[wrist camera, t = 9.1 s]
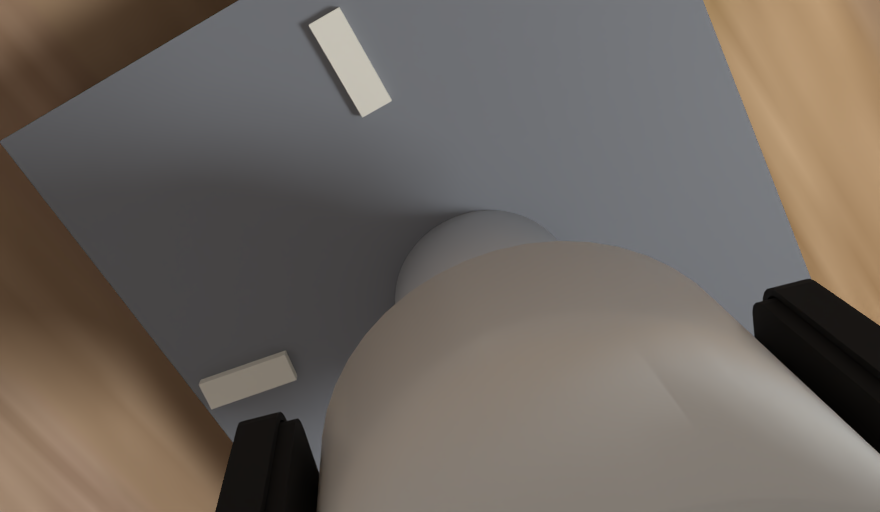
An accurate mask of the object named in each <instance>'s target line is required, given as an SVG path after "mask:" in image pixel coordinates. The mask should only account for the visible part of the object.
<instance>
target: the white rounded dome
mask: <svg viewBox="0 0 880 512" xmlns="http://www.w3.org/2000/svg"><path fill="white" fill-rule="evenodd" d="M316 512H880V454H879V453H878V452H877V451H876V450H875V449H874V448H873V447H872V446H871V445H870V444H869V443H867V442H866V441H865V440H864V439H863V438H862V437H861V436H860V435H859V434H858V433H857V432H856V431H855V430H853V429H852V428H851V427H850V426H849V425H848V424H847V423H846V422H845V421H844V420H843V419H842V418H841V417H840V416H838V415H837V414H836V413H835V412H834V411H833V410H832V409H831V408H830V407H829V406H828V405H827V404H826V403H825V402H823V401H822V400H821V399H820V398H819V397H818V396H817V395H816V394H815V393H814V392H813V391H812V390H811V389H810V388H808V387H807V386H806V385H805V384H804V383H803V382H802V381H801V380H800V379H799V378H798V377H797V376H796V375H794V374H793V373H792V372H791V371H790V370H789V369H788V368H787V367H786V366H785V365H784V364H783V363H782V362H781V361H779V360H778V359H777V358H776V357H775V356H774V355H773V354H772V353H771V352H770V351H769V350H768V349H767V348H766V347H764V346H763V345H762V344H761V343H760V342H759V341H758V340H757V339H756V338H755V337H754V336H753V335H752V334H751V333H749V332H748V331H747V330H746V329H745V328H744V327H743V326H742V325H741V324H740V323H739V322H738V321H737V320H735V319H734V318H733V317H732V316H731V315H730V314H729V313H728V312H727V311H726V310H725V309H724V308H723V307H722V306H720V305H719V304H718V303H717V302H716V301H715V300H714V299H713V298H712V297H711V296H710V295H708V294H707V293H706V292H705V291H704V290H703V289H702V288H701V287H700V286H699V285H697V284H696V283H695V282H693V281H692V280H690V279H689V278H687V277H686V276H684V275H683V274H681V273H680V272H678V271H677V270H675V269H674V268H672V267H670V266H668V265H666V264H664V263H661V262H659V261H657V260H655V259H653V258H651V257H649V256H646V255H643V254H640V253H637V252H633V251H630V250H627V249H624V248H621V247H616V246H610V245H604V244H598V243H592V242H575V241H551V242H540V243H528V244H522V245H518V246H513V247H509V248H504V249H499V250H495V251H492V252H489V253H486V254H483V255H480V256H477V257H475V258H472V259H469V260H466V261H463V262H461V263H459V264H457V265H455V266H453V267H451V268H449V269H447V270H445V271H443V272H441V273H439V274H437V275H435V276H434V277H432V278H431V279H429V280H427V281H426V282H424V283H423V284H421V285H420V286H418V287H417V288H415V289H414V290H412V291H411V292H409V293H408V294H407V295H406V296H404V297H403V298H402V299H401V300H400V301H398V302H397V303H396V304H395V305H394V306H393V307H391V308H390V309H389V310H388V311H387V312H386V313H385V314H384V315H383V316H382V317H381V318H380V319H379V320H378V321H377V322H376V323H375V325H374V326H373V327H372V328H371V329H370V330H369V331H368V332H367V333H366V334H365V336H364V337H363V339H362V340H361V341H360V343H359V344H358V346H357V347H356V349H355V350H354V352H353V353H352V354H351V356H350V357H349V359H348V361H347V363H346V365H345V367H344V369H343V371H342V373H341V375H340V377H339V378H338V380H337V382H336V384H335V387H334V390H333V393H332V396H331V399H330V402H329V405H328V408H327V412H326V417H325V423H324V429H323V434H322V445H321V458H320V471H319V484H318V497H317V510H316Z"/></svg>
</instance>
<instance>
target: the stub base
mask: <svg viewBox="0 0 880 512" xmlns="http://www.w3.org/2000/svg"><path fill="white" fill-rule="evenodd" d="M0 143H1V145H2V146H3V147H4V148H5V150H6V151H7V152H8V154H9V155H10V156H11V157H12V159H13V160H14V161H15V163H16V164H17V165H18V166H19V168H20V169H21V170H22V172H23V173H24V174H25V175H26V177H27V178H28V179H29V181H30V182H31V183H32V184H33V186H34V187H35V188H36V190H37V191H38V192H39V193H40V195H41V196H42V197H43V199H44V200H45V201H46V202H47V204H48V205H49V206H50V208H51V209H52V210H53V211H54V213H55V214H56V215H57V217H58V218H59V219H60V220H61V222H62V223H63V224H64V226H65V227H66V228H67V229H68V231H69V232H70V233H71V235H72V236H73V237H74V238H75V240H76V241H77V242H78V244H79V245H80V246H81V247H82V249H83V250H84V251H85V253H86V254H87V255H88V256H89V258H90V259H91V260H92V262H93V263H94V264H95V265H96V267H97V268H98V269H99V271H100V272H101V273H102V274H103V276H104V277H105V278H106V280H107V281H108V282H109V284H110V285H111V286H112V287H113V289H114V290H115V291H116V293H117V294H118V295H119V296H120V298H121V299H122V300H123V302H124V303H125V304H126V305H127V307H128V308H129V309H130V311H131V312H132V313H133V314H134V316H135V317H136V318H137V320H138V321H139V322H140V323H141V325H142V326H143V327H144V329H145V330H146V331H147V332H148V334H149V335H150V336H151V338H152V339H153V340H154V341H155V343H156V344H157V345H158V347H159V348H160V349H161V350H162V352H163V353H164V354H165V356H166V357H167V358H168V359H169V361H170V362H171V363H172V365H173V366H174V367H175V368H176V370H177V371H178V372H179V374H180V375H181V376H182V377H183V379H184V380H185V381H186V383H187V384H188V385H189V386H190V388H191V389H192V390H193V392H194V393H195V394H196V395H197V397H198V398H199V399H200V401H201V402H202V403H203V404H204V406H205V407H206V408H207V410H208V411H209V412H210V413H211V415H212V416H213V417H214V419H215V420H216V421H217V422H218V424H219V425H220V426H221V428H222V429H223V430H224V432H225V433H226V434H227V435H228V437H229V438H230V439H231V441H232V442H233V441H234V437H235V433H236V429H237V426H238V424H239V422H241V421H245V420H249V419H253V418H257V417H261V416H265V415H269V414H273V413H277V412H282V413H283V414H284V416H285V418H286V420H287V421H289V420H293V419H297V418H298V419H299V420H300V421H301V423H302V425H303V428H304V430H305V433H306V436H307V439H308V442H309V445H310V448H311V451H312V454H313V457H314V460H315V462H316V465H317V468H318V471H320V458H321V445H322V434H323V429H324V423H325V417H326V412H327V408H328V405H329V402H330V399H331V396H332V393H333V390H334V387H335V384H336V382H337V380H338V378H339V377H340V375H341V373H342V371H343V369H344V367H345V365H346V363H347V361H348V359H349V357H350V356H351V354H352V353H353V352H354V350H355V349H356V347H357V346H358V344H359V343H360V341H361V340H362V339H363V337H364V336H365V334H366V333H367V332H368V331H369V330H370V329H371V328H372V327H373V326H374V325H375V323H376V322H377V321H378V320H379V319H380V318H381V317H382V316H383V315H384V314H385V313H386V312H387V311H388V310H389V309H390V308H391V307H393V306H394V305H395V304H396V303H397V302H398V301H400V300H401V299H402V298H403V297H404V296H406V295H407V294H408V293H409V292H411V291H412V290H414V289H415V288H417V287H418V286H420V285H421V284H423V283H424V282H426V281H427V280H429V279H431V278H432V277H434V276H435V275H437V274H439V273H441V272H443V271H445V270H447V269H449V268H451V267H453V266H455V265H457V264H459V263H461V262H463V261H466V260H469V259H472V258H475V257H477V256H480V255H483V254H486V253H489V252H492V251H495V250H499V249H504V248H509V247H513V246H518V245H522V244H528V243H540V242H551V241H575V242H592V243H598V244H604V245H610V246H616V247H621V248H624V249H627V250H630V251H633V252H637V253H640V254H643V255H646V256H649V257H651V258H653V259H655V260H657V261H659V262H661V263H664V264H666V265H668V266H670V267H672V268H674V269H675V270H677V271H678V272H680V273H681V274H683V275H684V276H686V277H687V278H689V279H690V280H692V281H693V282H695V283H696V284H697V285H699V286H700V287H701V288H702V289H703V290H704V291H705V292H706V293H707V294H708V295H710V296H711V297H712V298H713V299H714V300H715V301H716V302H717V303H718V304H719V305H720V306H722V307H723V308H724V309H725V310H726V311H727V312H728V313H729V314H730V315H731V316H732V317H733V318H734V319H735V320H737V321H738V322H739V323H740V324H741V325H742V326H743V327H744V328H745V329H746V330H747V331H748V332H749V333H751V334H752V335H753V336H754V327H753V316H752V310H753V305H754V304H755V303H756V302H760V301H763V295H764V292H765V291H766V289H768V288H772V287H776V286H780V285H784V284H788V283H792V282H796V281H800V280H804V279H811V277H810V275H809V272H808V270H807V267H806V265H805V262H804V259H803V257H802V254H801V252H800V249H799V247H798V244H797V241H796V239H795V236H794V234H793V231H792V229H791V226H790V223H789V221H788V218H787V216H786V213H785V211H784V208H783V205H782V203H781V200H780V198H779V195H778V193H777V190H776V187H775V185H774V182H773V180H772V177H771V175H770V172H769V169H768V167H767V164H766V162H765V159H764V157H763V154H762V151H761V149H760V146H759V144H758V141H757V139H756V136H755V133H754V131H753V128H752V126H751V123H750V121H749V118H748V115H747V113H746V110H745V108H744V105H743V103H742V100H741V97H740V95H739V92H738V90H737V87H736V85H735V82H734V79H733V77H732V74H731V72H730V69H729V67H728V64H727V61H726V59H725V56H724V54H723V51H722V49H721V46H720V43H719V41H718V38H717V36H716V33H715V31H714V28H713V25H712V23H711V20H710V18H709V15H708V13H707V10H706V7H705V5H704V2H703V0H238V1H237V2H235V3H233V4H231V5H230V6H228V7H226V8H225V9H223V10H221V11H220V12H218V13H216V14H214V15H213V16H211V17H209V18H208V19H206V20H204V21H203V22H201V23H199V24H198V25H196V26H194V27H192V28H191V29H189V30H187V31H186V32H184V33H182V34H181V35H179V36H177V37H176V38H174V39H172V40H170V41H169V42H167V43H165V44H164V45H162V46H160V47H159V48H157V49H155V50H153V51H152V52H150V53H148V54H147V55H145V56H143V57H142V58H140V59H138V60H137V61H135V62H133V63H131V64H130V65H128V66H126V67H125V68H123V69H121V70H120V71H118V72H116V73H115V74H113V75H111V76H109V77H108V78H106V79H104V80H103V81H101V82H99V83H98V84H96V85H94V86H93V87H91V88H89V89H87V90H86V91H84V92H82V93H81V94H79V95H77V96H76V97H74V98H72V99H70V100H69V101H67V102H65V103H64V104H62V105H60V106H59V107H57V108H55V109H54V110H52V111H50V112H48V113H47V114H45V115H43V116H42V117H40V118H38V119H37V120H35V121H33V122H32V123H30V124H28V125H26V126H25V127H23V128H21V129H20V130H18V131H16V132H15V133H13V134H11V135H9V136H8V137H6V138H4V139H3V140H1V141H0Z"/></svg>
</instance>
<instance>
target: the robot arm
mask: <svg viewBox="0 0 880 512" xmlns="http://www.w3.org/2000/svg"><path fill="white" fill-rule="evenodd" d="M752 316H753V327H754V337H755V338H756V339H757V340H758V341H759V342H760V343H761V344H762V345H763V346H764V347H766V348H767V349H768V350H769V351H770V352H771V353H772V354H773V355H774V356H775V357H776V358H777V359H778V360H779V361H781V362H782V363H783V364H784V365H785V366H786V367H787V368H788V369H789V370H790V371H791V372H792V373H793V374H794V375H796V376H797V377H798V378H799V379H800V380H801V381H802V382H803V383H804V384H805V385H806V386H807V387H808V388H810V389H811V390H812V391H813V392H814V393H815V394H816V395H817V396H818V397H819V398H820V399H821V400H822V401H823V402H825V403H826V404H827V405H828V406H829V407H830V408H831V409H832V410H833V411H834V412H835V413H836V414H837V415H838V416H840V417H841V418H842V419H843V420H844V421H845V422H846V423H847V424H848V425H849V426H850V427H851V428H852V429H853V430H855V431H856V432H857V433H858V434H859V435H860V436H861V437H862V438H863V439H864V440H865V441H866V442H867V443H869V444H870V445H871V446H872V447H873V448H874V449H875V450H876V451H877V452H878V453H879V454H880V326H879V325H878V324H876V323H875V322H873V321H872V320H871V319H869V318H868V317H866V316H865V315H863V314H862V313H860V312H859V311H858V310H856V309H855V308H853V307H852V306H850V305H849V304H847V303H846V302H845V301H843V300H842V299H840V298H839V297H837V296H836V295H834V294H833V293H831V292H830V291H829V290H827V289H826V288H824V287H823V286H821V285H820V284H818V283H817V282H816V281H814V280H812V279H804V280H800V281H796V282H792V283H788V284H784V285H780V286H776V287H772V288H768V289H766V291H765V292H764V295H763V301H760V302H756V303H755V304H754V305H753V310H752ZM318 484H319V471H318V468H317V465H316V462H315V460H314V457H313V454H312V451H311V448H310V445H309V442H308V439H307V436H306V433H305V430H304V428H303V425H302V423H301V421H300V420H299V419H298V418H297V419H293V420H289V421H287V420H286V418H285V416H284V414H283V413H282V412H277V413H273V414H269V415H265V416H261V417H257V418H253V419H249V420H245V421H241V422H239V424H238V426H237V429H236V433H235V437H234V441H233V445H232V449H231V453H230V457H229V461H228V464H227V468H226V472H225V476H224V480H223V484H222V488H221V492H220V495H219V499H218V503H217V507H216V511H215V512H316V510H317V497H318Z"/></svg>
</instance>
